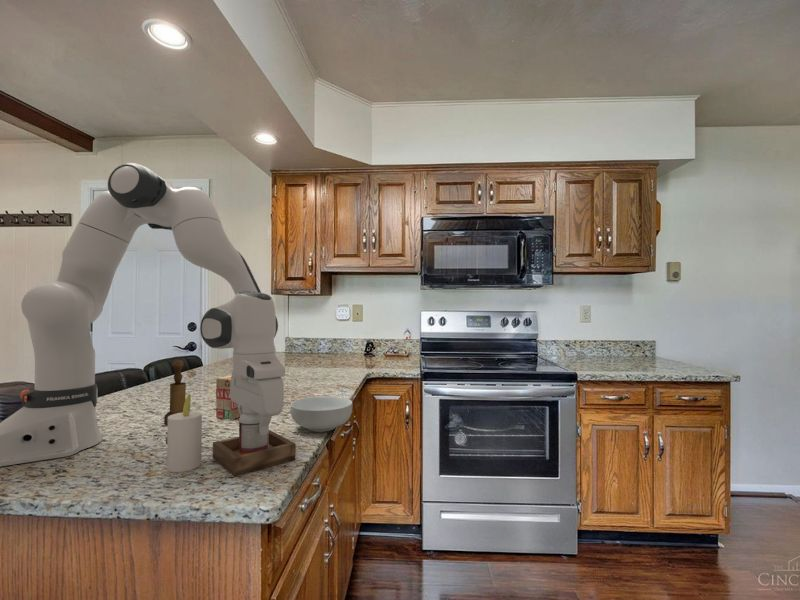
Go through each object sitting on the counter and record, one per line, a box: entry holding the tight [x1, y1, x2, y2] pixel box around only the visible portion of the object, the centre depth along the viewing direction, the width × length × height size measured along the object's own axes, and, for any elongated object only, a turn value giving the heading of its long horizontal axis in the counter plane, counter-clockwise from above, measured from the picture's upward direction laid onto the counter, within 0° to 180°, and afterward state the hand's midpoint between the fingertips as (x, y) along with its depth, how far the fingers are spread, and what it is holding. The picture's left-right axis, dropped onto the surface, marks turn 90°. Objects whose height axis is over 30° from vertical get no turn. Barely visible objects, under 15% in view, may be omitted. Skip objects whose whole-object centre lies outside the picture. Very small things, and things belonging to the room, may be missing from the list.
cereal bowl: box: [290, 395, 353, 433], centre depth 109 cm, size 17×17×7 cm
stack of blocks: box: [215, 374, 240, 421], centre depth 127 cm, size 21×6×12 cm, turn 156°
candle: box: [165, 393, 203, 473], centre depth 83 cm, size 6×6×15 cm
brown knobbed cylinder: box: [163, 359, 187, 426], centre depth 115 cm, size 7×6×18 cm
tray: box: [212, 429, 297, 478], centre depth 87 cm, size 13×13×4 cm
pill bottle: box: [238, 403, 269, 455], centre depth 87 cm, size 6×6×11 cm
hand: (253, 428), depth 87 cm, fingers open, 8 cm apart
